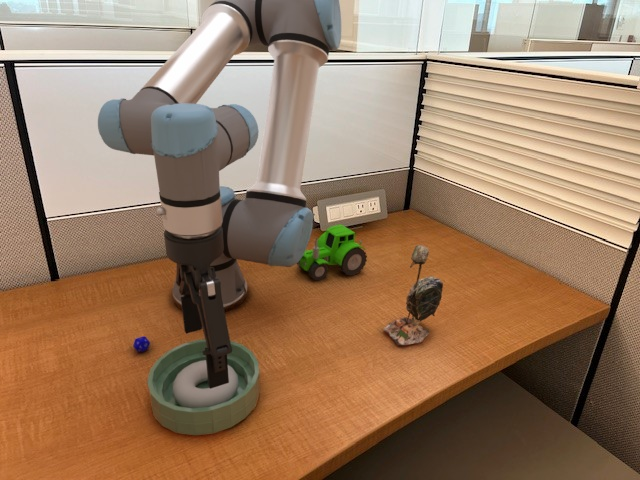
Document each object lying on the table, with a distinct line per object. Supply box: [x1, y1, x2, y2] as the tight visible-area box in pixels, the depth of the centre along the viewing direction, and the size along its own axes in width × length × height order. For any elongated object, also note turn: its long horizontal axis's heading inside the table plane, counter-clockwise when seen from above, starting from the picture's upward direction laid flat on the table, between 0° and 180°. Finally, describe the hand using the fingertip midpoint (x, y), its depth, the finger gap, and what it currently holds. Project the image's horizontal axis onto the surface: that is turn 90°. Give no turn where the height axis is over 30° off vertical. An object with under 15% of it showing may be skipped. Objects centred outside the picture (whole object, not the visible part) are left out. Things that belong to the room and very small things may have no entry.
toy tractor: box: [296, 223, 368, 281], centre depth 112 cm, size 11×16×10 cm
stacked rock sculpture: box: [382, 244, 446, 346], centre depth 88 cm, size 8×11×20 cm
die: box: [132, 335, 151, 354], centre depth 84 cm, size 3×3×3 cm
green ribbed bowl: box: [146, 338, 261, 436], centre depth 74 cm, size 16×16×5 cm
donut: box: [172, 360, 239, 408], centre depth 74 cm, size 10×4×10 cm
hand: (205, 355), depth 72 cm, fingers open, 13 cm apart
